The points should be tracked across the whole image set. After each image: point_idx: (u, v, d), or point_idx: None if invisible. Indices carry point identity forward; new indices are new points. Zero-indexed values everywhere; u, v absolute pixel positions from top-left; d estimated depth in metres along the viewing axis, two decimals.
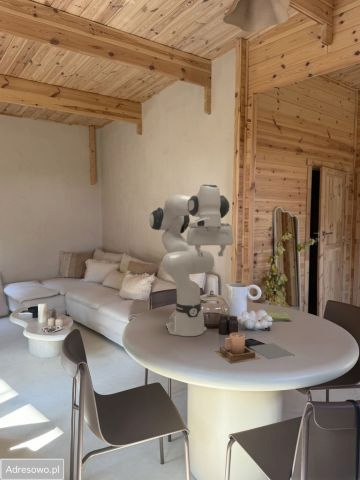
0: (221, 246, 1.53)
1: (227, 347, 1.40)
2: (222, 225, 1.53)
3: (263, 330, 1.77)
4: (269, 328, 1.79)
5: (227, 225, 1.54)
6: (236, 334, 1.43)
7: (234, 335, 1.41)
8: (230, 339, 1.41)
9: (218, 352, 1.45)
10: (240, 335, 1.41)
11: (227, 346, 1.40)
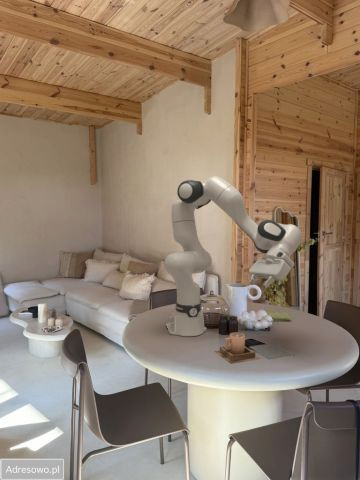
0: (255, 276, 1.52)
1: (227, 347, 1.40)
2: None
3: (263, 330, 1.77)
4: (269, 328, 1.79)
5: None
6: (236, 334, 1.43)
7: (234, 335, 1.41)
8: (230, 339, 1.41)
9: (218, 352, 1.45)
10: (240, 335, 1.41)
11: (227, 346, 1.40)
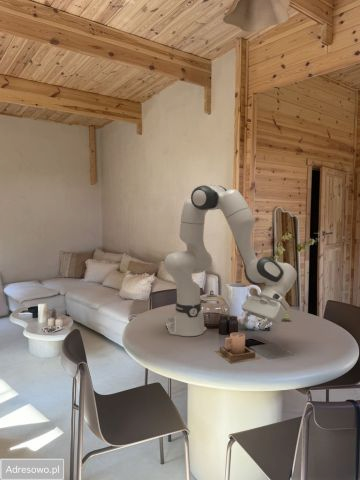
0: (249, 313, 1.51)
1: (227, 347, 1.40)
2: None
3: (263, 330, 1.77)
4: (269, 328, 1.79)
5: None
6: (236, 334, 1.43)
7: (234, 335, 1.41)
8: (230, 339, 1.41)
9: (218, 352, 1.45)
10: (240, 335, 1.41)
11: (227, 346, 1.40)
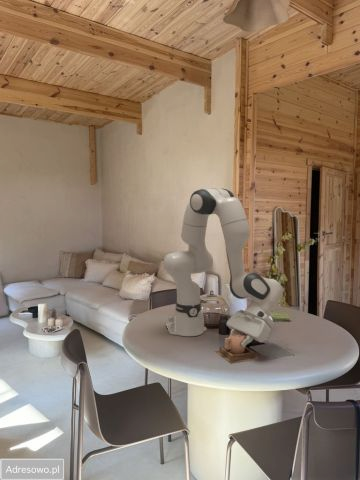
0: (235, 331, 1.47)
1: (227, 347, 1.40)
2: None
3: None
4: None
5: None
6: (236, 334, 1.43)
7: (234, 335, 1.41)
8: (230, 339, 1.41)
9: (218, 352, 1.45)
10: (240, 335, 1.41)
11: (227, 346, 1.40)
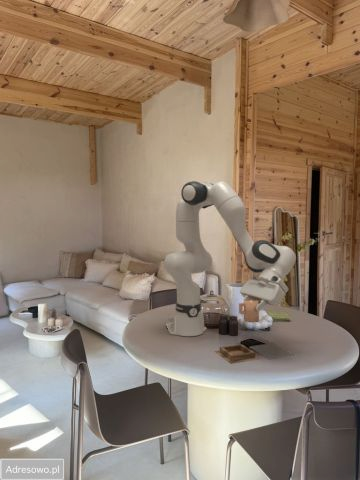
0: None
1: (241, 312, 1.41)
2: None
3: (263, 330, 1.77)
4: (269, 328, 1.79)
5: None
6: (250, 299, 1.44)
7: (248, 300, 1.42)
8: (244, 304, 1.41)
9: (218, 352, 1.45)
10: (254, 300, 1.42)
11: (241, 311, 1.41)
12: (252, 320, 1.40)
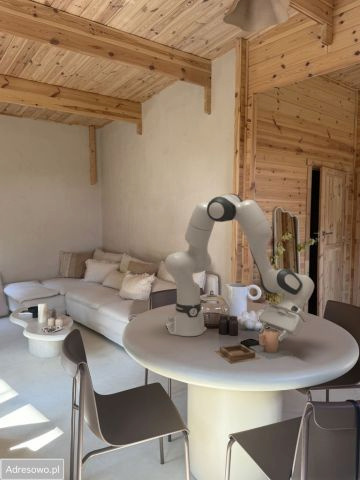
0: (266, 325, 1.52)
1: (261, 343, 1.45)
2: None
3: None
4: (269, 328, 1.79)
5: None
6: (270, 330, 1.48)
7: (268, 331, 1.46)
8: (264, 335, 1.45)
9: (218, 352, 1.45)
10: (274, 331, 1.46)
11: (261, 342, 1.45)
12: (272, 351, 1.44)
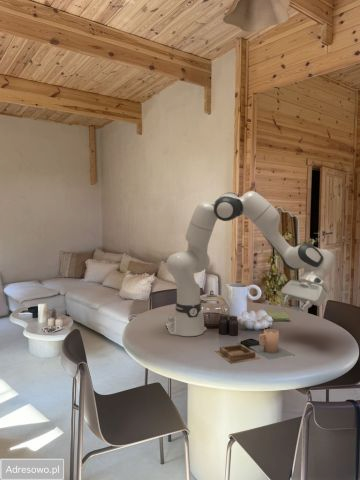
0: (289, 297, 1.58)
1: (261, 343, 1.45)
2: None
3: (263, 330, 1.77)
4: (269, 328, 1.79)
5: None
6: (270, 330, 1.48)
7: (268, 331, 1.46)
8: (264, 335, 1.45)
9: (218, 352, 1.45)
10: (274, 331, 1.46)
11: (261, 342, 1.45)
12: (272, 351, 1.44)
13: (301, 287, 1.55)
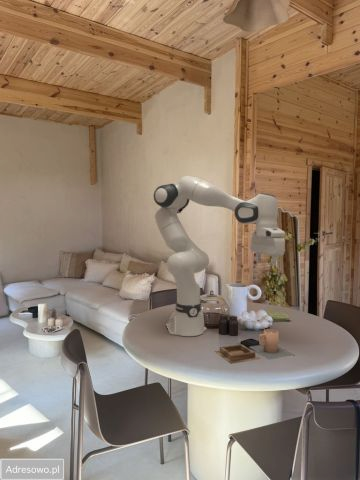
0: (259, 253, 1.60)
1: (261, 343, 1.45)
2: None
3: (263, 330, 1.77)
4: (269, 328, 1.79)
5: None
6: (270, 330, 1.48)
7: (268, 331, 1.46)
8: (264, 335, 1.45)
9: (218, 352, 1.45)
10: (274, 331, 1.46)
11: (261, 342, 1.45)
12: (272, 351, 1.44)
13: (262, 241, 1.55)
